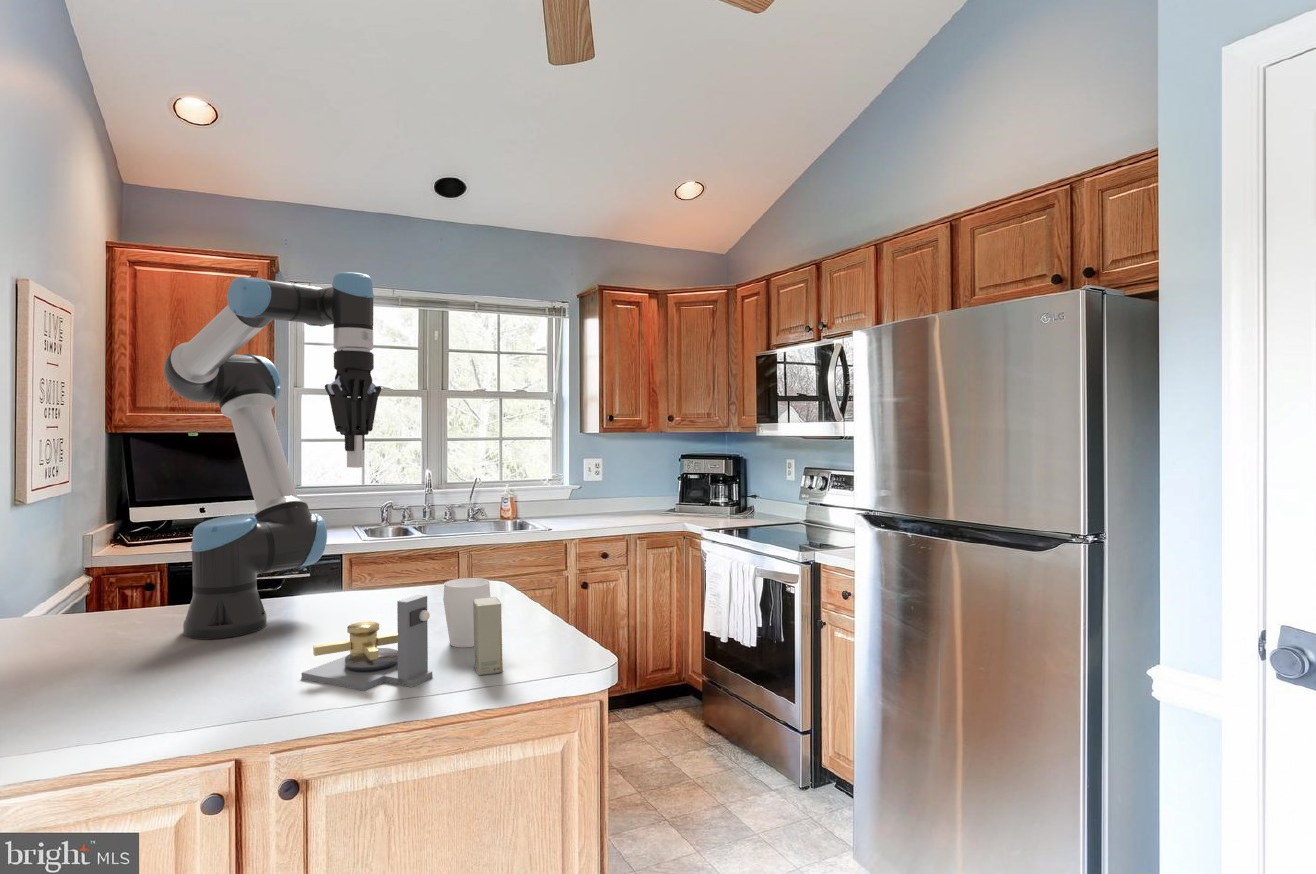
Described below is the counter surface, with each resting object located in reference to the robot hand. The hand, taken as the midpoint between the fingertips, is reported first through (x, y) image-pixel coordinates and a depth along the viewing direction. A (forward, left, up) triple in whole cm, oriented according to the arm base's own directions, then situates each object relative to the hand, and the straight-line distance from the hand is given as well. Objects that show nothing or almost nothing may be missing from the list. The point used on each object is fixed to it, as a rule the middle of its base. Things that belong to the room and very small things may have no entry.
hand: (354, 467), depth 153 cm
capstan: (+18, -16, -33) cm, 41 cm away
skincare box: (+37, -6, -35) cm, 51 cm away
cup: (+24, +5, -35) cm, 42 cm away
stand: (+21, -16, -34) cm, 43 cm away
